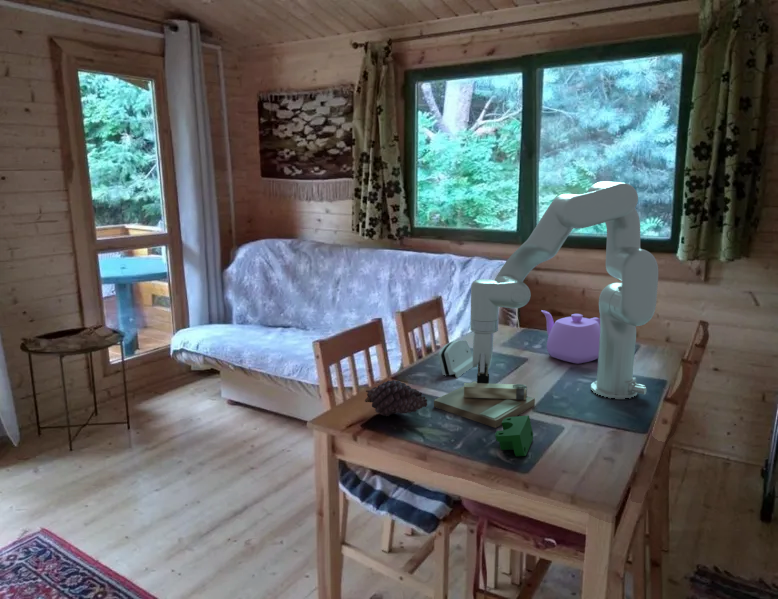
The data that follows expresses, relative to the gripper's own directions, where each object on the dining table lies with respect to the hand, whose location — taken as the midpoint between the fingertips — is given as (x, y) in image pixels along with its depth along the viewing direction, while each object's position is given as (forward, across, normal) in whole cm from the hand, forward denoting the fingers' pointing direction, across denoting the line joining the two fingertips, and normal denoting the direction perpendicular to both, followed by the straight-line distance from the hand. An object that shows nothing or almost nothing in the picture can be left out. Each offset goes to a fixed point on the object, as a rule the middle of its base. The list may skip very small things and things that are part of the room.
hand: (482, 387), depth 165 cm
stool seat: (+4, +5, +1) cm, 6 cm away
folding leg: (+1, +3, +4) cm, 5 cm away
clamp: (+4, +27, +9) cm, 29 cm away
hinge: (+4, -24, -10) cm, 26 cm away
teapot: (+4, -42, +28) cm, 51 cm away
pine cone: (+4, +16, -22) cm, 27 cm away
